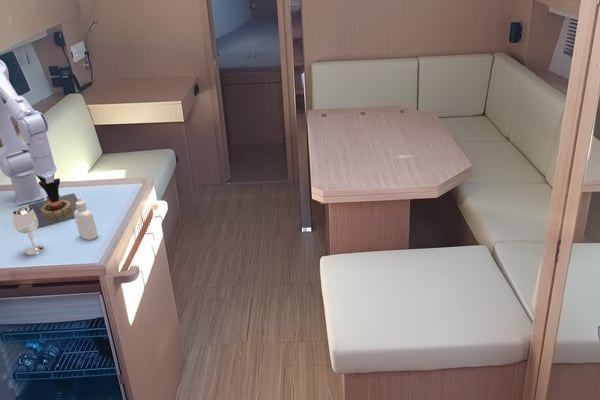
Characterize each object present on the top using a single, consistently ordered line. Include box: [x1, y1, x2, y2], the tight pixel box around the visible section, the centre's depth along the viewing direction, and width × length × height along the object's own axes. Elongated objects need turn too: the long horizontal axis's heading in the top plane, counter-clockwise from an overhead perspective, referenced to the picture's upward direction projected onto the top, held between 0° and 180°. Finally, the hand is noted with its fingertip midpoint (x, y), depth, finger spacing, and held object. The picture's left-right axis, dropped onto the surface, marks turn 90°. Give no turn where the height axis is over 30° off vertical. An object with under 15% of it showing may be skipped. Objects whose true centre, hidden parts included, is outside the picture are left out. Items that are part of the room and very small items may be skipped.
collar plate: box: [27, 192, 78, 229], centre depth 172 cm, size 18×14×2 cm
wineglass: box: [12, 206, 45, 256], centre depth 148 cm, size 6×6×12 cm
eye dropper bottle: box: [74, 196, 99, 241], centre depth 153 cm, size 4×6×12 cm
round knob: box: [46, 195, 63, 211], centre depth 169 cm, size 4×4×5 cm
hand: (53, 197), depth 168 cm, fingers open, 7 cm apart
